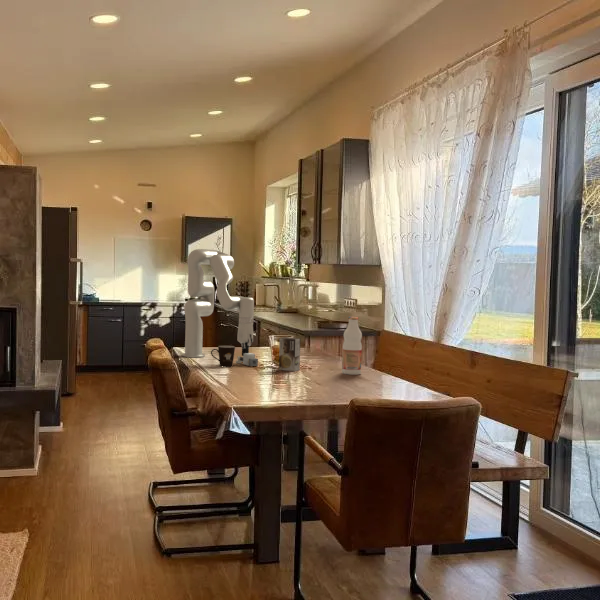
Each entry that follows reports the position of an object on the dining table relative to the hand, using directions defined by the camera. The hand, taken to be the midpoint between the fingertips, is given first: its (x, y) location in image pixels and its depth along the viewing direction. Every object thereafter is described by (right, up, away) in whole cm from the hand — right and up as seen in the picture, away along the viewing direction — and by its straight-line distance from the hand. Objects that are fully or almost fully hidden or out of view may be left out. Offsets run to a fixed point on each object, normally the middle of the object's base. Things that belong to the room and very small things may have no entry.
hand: (245, 355), depth 378 cm
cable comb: (-2, -4, +4) cm, 6 cm away
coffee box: (+23, -6, -16) cm, 29 cm away
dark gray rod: (+1, -4, -2) cm, 5 cm away
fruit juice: (+54, -7, -21) cm, 58 cm away
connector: (+5, -5, -8) cm, 11 cm away
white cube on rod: (+2, -5, -4) cm, 6 cm away
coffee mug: (-10, -5, -10) cm, 15 cm away
